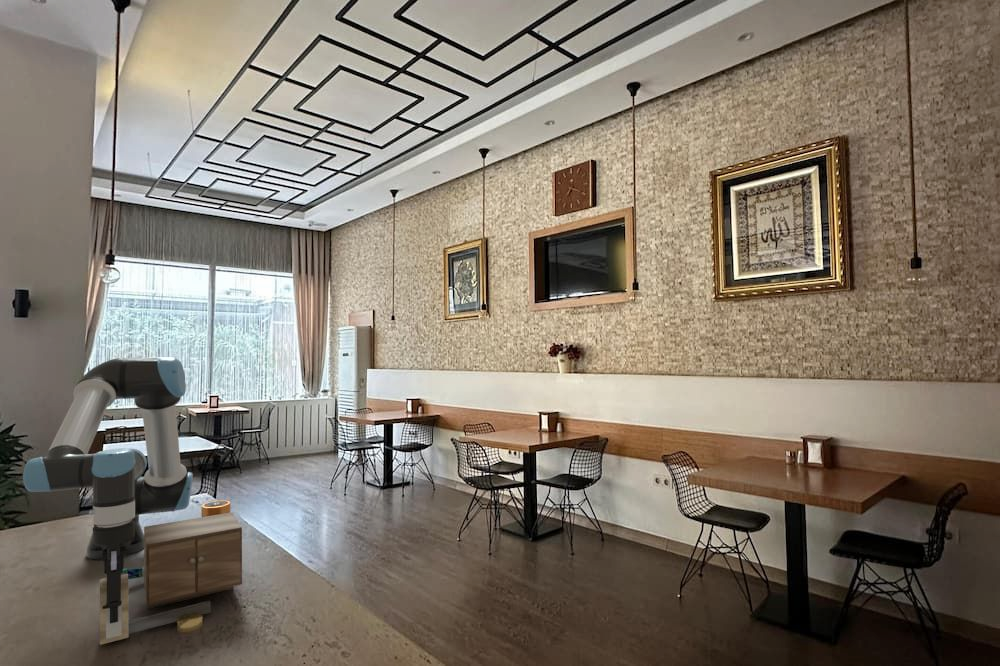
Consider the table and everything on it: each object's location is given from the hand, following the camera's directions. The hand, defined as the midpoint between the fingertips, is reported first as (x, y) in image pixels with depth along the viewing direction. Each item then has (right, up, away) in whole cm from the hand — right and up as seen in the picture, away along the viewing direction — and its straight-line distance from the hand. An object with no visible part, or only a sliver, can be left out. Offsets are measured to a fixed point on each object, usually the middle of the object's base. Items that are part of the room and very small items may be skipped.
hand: (114, 630), depth 120 cm
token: (+13, -3, +5) cm, 15 cm away
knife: (-8, -3, +35) cm, 36 cm away
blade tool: (+7, -1, +5) cm, 8 cm away
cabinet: (+7, -3, +18) cm, 20 cm away
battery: (+5, -3, +34) cm, 34 cm away
